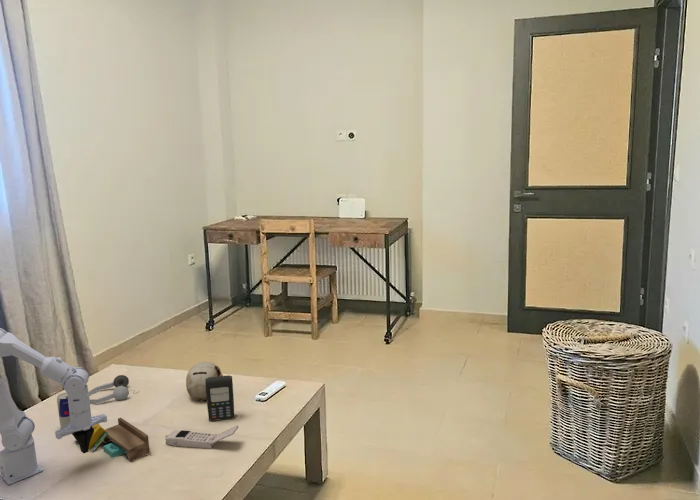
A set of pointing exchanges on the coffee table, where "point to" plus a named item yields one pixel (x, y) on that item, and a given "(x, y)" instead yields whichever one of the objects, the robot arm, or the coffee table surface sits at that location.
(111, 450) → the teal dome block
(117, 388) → the headphones
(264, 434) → the coffee table surface
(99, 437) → the crayon box
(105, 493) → the coffee table surface
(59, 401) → the energy drink
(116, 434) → the brown ledge shelf
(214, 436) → the mobile phone
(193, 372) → the coin bank
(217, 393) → the card reader
